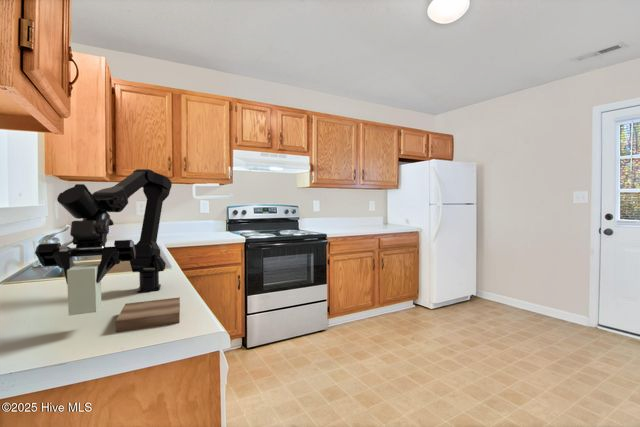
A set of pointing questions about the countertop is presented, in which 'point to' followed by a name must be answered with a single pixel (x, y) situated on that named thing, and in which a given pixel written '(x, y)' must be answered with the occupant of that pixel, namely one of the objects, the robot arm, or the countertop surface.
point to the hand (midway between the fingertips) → (83, 283)
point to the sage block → (83, 289)
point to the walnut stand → (148, 314)
